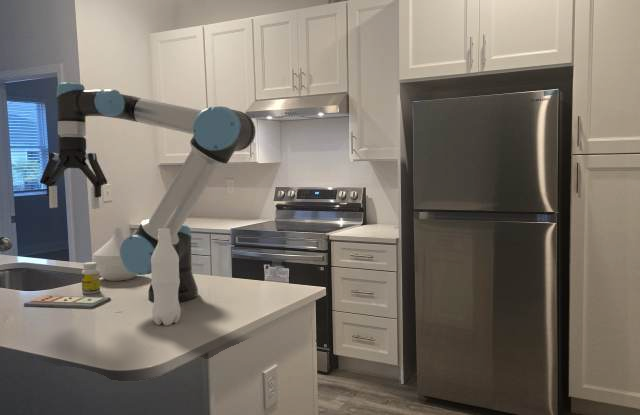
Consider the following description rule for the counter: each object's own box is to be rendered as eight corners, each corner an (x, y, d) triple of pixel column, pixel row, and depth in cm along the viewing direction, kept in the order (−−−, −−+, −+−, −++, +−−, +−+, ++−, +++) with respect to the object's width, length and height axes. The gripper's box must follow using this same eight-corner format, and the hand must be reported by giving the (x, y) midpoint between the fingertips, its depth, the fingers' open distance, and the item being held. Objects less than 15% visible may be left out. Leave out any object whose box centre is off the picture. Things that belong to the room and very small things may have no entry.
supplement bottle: (78, 293, 176) (77, 263, 175) (91, 289, 181) (90, 261, 180) (91, 294, 174) (89, 264, 173) (103, 291, 179) (102, 262, 178)
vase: (155, 277, 200) (153, 226, 198) (108, 286, 186) (106, 231, 185) (129, 271, 212) (128, 223, 211) (84, 278, 198) (81, 227, 197)
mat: (110, 299, 167) (110, 295, 166) (92, 308, 157) (92, 304, 157) (45, 297, 170) (45, 293, 170) (24, 306, 160) (23, 301, 160)
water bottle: (165, 328, 137) (163, 231, 135) (146, 324, 141) (143, 229, 139) (186, 321, 143) (184, 228, 141) (167, 317, 147) (165, 226, 145)
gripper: (118, 137, 161) (119, 207, 162) (42, 137, 164) (44, 206, 166) (104, 135, 153) (106, 209, 155) (25, 136, 157) (28, 208, 159)
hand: (74, 208), depth 161 cm, fingers open, 13 cm apart
